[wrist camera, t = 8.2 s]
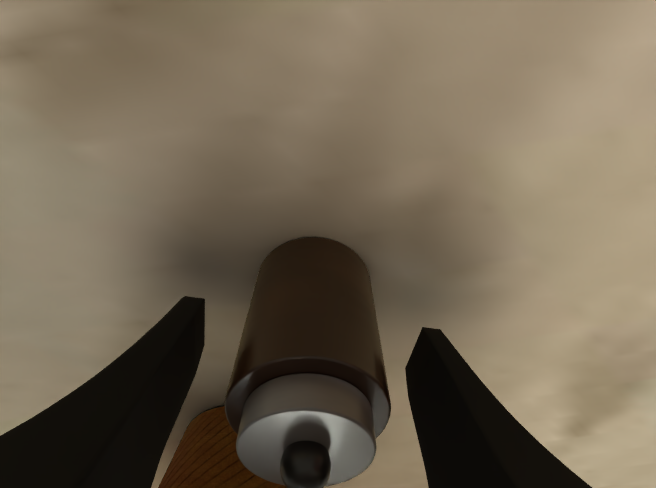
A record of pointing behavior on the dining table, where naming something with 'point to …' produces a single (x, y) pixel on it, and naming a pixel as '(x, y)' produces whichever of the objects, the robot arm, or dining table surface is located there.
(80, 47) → the dining table surface
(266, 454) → the pepper mill
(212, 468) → the disposable coffee cup
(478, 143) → the dining table surface
